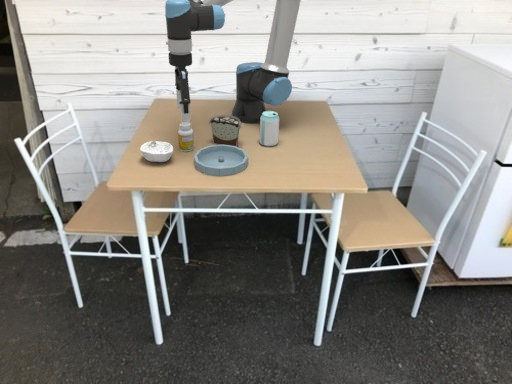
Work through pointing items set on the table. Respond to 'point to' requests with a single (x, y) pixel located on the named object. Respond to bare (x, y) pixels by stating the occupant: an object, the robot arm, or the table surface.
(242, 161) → the ring tray
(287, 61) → the robot arm
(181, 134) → the supplement bottle
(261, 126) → the can
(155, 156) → the cell model
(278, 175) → the table surface
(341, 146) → the table surface
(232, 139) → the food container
